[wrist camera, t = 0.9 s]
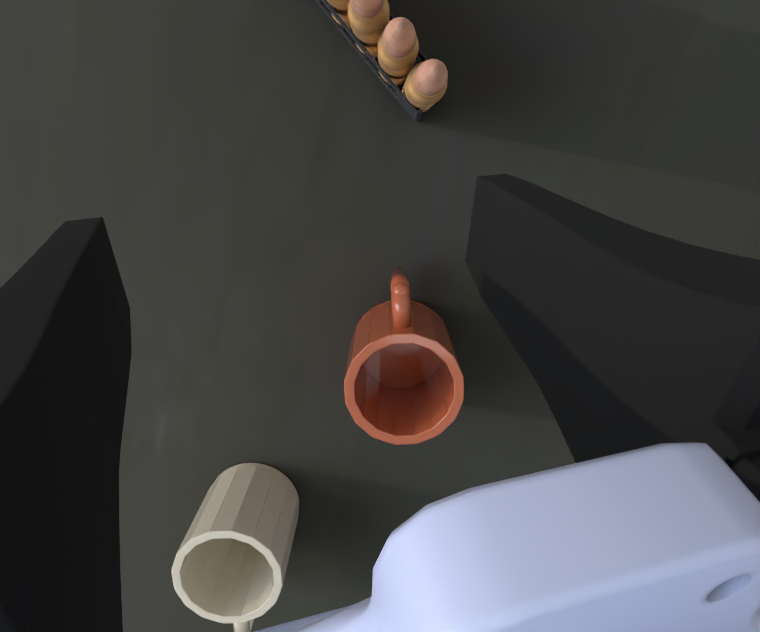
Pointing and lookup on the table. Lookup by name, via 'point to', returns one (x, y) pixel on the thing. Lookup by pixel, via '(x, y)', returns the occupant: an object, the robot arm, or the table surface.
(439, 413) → the terracotta cup
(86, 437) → the robot arm
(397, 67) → the ammunition clip
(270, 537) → the cream cup
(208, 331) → the table surface
